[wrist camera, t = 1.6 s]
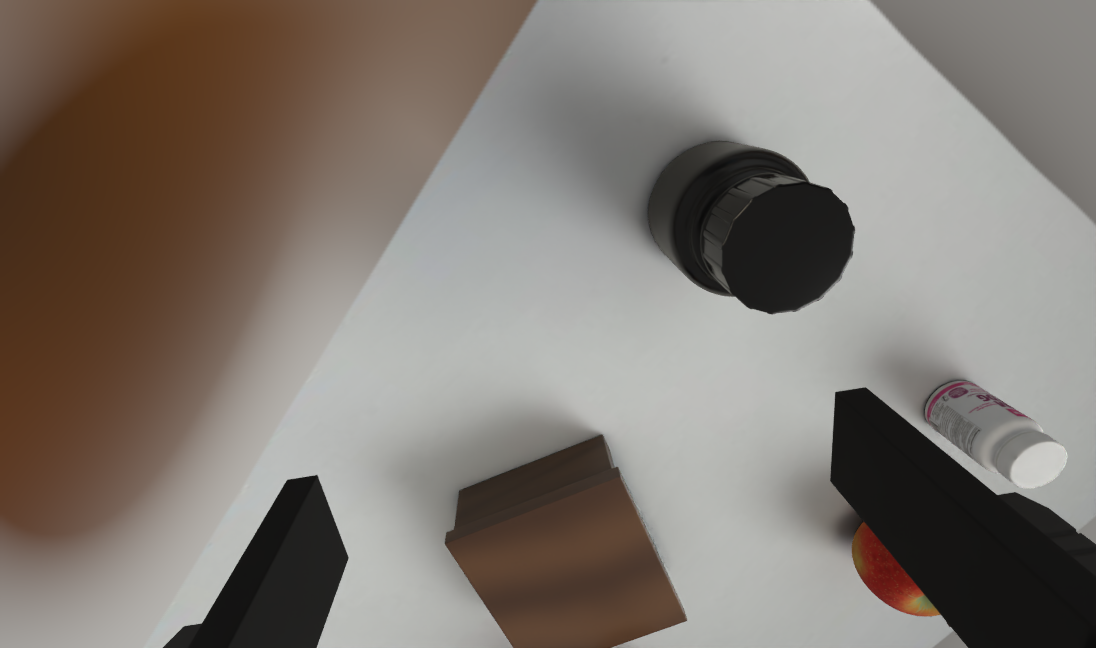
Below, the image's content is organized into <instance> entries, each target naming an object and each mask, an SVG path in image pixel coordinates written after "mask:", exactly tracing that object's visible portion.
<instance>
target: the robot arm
mask: <svg viewBox="0 0 1096 648" xmlns="http://www.w3.org/2000/svg"><path fill="white" fill-rule="evenodd" d="M830 481H831V482H832V484H833V485H834V486H835V487H836V489H837V490H838V491H839V492H840V493H841V495H842V496H843V497H844V498H845V499H846V501H847V502H848V503H849V504H850V505H851V507H852V508H853V509H854V510H855V511H856V513H857V514H858V515H859V516H860V518H861V519H862V520H863V521H864V522H865V524H866V525H867V526H868V527H869V528H870V530H871V531H872V532H873V533H874V534H875V536H876V537H877V538H878V539H879V540H880V542H881V543H882V544H883V545H884V546H885V548H886V549H887V550H888V551H889V553H890V554H891V555H892V556H893V557H894V559H895V560H896V561H897V562H898V563H899V565H900V566H901V567H902V568H903V569H904V571H905V572H906V573H907V574H908V575H909V577H910V578H911V579H912V580H913V582H914V583H915V584H916V585H917V586H918V588H919V589H920V590H921V591H922V592H923V594H924V595H925V596H926V597H927V598H928V600H929V601H930V602H931V603H932V604H933V606H934V607H935V608H936V609H937V611H938V612H939V613H940V614H941V615H942V617H943V618H944V619H945V620H946V621H947V623H948V624H949V625H950V626H951V627H952V629H953V630H954V631H955V632H956V633H957V635H958V636H959V637H960V638H961V639H962V641H963V642H964V643H965V644H966V646H967V647H968V648H1096V544H1095V543H1093V542H1092V541H1091V540H1089V539H1088V538H1086V537H1085V536H1084V535H1082V534H1081V533H1079V534H1078V533H1077V532H1076V529H1075V528H1074V527H1072V526H1071V525H1070V524H1069V523H1067V522H1066V521H1065V520H1063V519H1062V518H1061V517H1059V516H1058V515H1057V514H1055V513H1054V512H1053V511H1052V510H1050V509H1049V508H1047V507H1045V506H1043V505H1041V504H1039V503H1037V502H1035V501H1032V500H1030V499H1028V498H1026V497H1024V496H1022V495H1020V494H1018V493H1016V492H1014V493H1008V494H1001V495H996V494H995V493H994V492H993V491H991V490H990V489H989V488H988V487H987V486H985V485H984V484H983V483H982V482H980V481H979V480H978V479H977V478H976V477H974V476H973V475H972V474H971V473H969V472H968V471H967V470H966V469H965V468H963V467H962V466H961V465H960V464H958V463H957V462H956V461H955V460H954V459H952V458H951V457H950V456H949V455H948V454H946V453H945V452H944V451H943V450H941V449H940V448H939V447H938V446H937V445H935V444H934V443H933V442H932V441H930V440H929V439H928V438H927V437H926V436H924V435H923V434H922V433H921V432H919V431H918V430H917V429H916V428H915V427H913V426H912V425H911V424H910V423H909V422H907V421H906V420H905V419H904V418H902V417H901V416H900V415H899V414H898V413H896V412H895V411H894V410H893V409H891V408H890V407H889V406H888V405H887V404H885V403H884V402H883V401H882V400H880V399H879V398H878V397H877V396H876V395H874V394H873V393H872V392H871V391H870V390H868V389H867V388H866V387H865V388H859V389H852V390H846V391H840V392H835V408H834V425H833V443H832V461H831V478H830ZM347 561H348V555H347V552H346V550H345V547H344V545H343V542H342V539H341V537H340V534H339V531H338V529H337V526H336V523H335V521H334V518H333V515H332V513H331V510H330V507H329V505H328V502H327V500H326V497H325V494H324V492H323V489H322V486H321V484H320V481H319V478H318V476H317V475H315V476H309V477H303V478H296V479H290V480H287V481H286V483H285V484H284V486H283V488H282V490H281V491H280V493H279V495H278V496H277V498H276V500H275V501H274V503H273V505H272V506H271V508H270V510H269V511H268V513H267V515H266V517H265V518H264V520H263V522H262V523H261V525H260V527H259V528H258V530H257V532H256V533H255V535H254V537H253V538H252V540H251V542H250V544H249V545H248V547H247V549H246V550H245V552H244V554H243V555H242V557H241V559H240V560H239V562H238V564H237V565H236V567H235V569H234V571H233V572H232V574H231V576H230V577H229V579H228V581H227V582H226V584H225V586H224V587H223V589H222V591H221V592H220V594H219V596H218V598H217V599H216V601H215V603H214V604H213V606H212V608H211V609H210V611H209V613H208V614H207V616H206V618H205V619H204V621H203V623H202V624H196V625H190V626H184V627H183V628H182V629H181V630H180V631H179V632H178V633H177V634H176V635H175V636H174V637H173V638H172V639H171V640H170V641H169V642H168V643H167V644H166V645H165V646H164V647H163V648H317V645H318V642H319V639H320V636H321V634H322V631H323V628H324V625H325V622H326V620H327V617H328V614H329V611H330V608H331V606H332V603H333V600H334V597H335V595H336V592H337V589H338V586H339V583H340V581H341V578H342V575H343V572H344V569H345V567H346V564H347Z"/></svg>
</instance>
